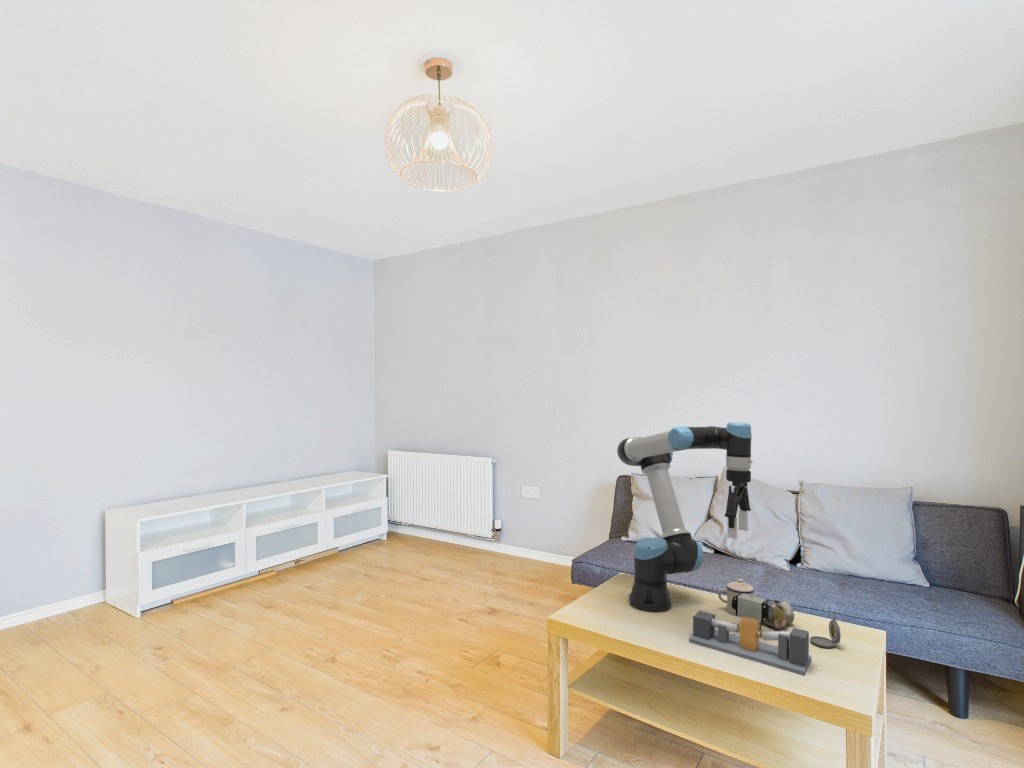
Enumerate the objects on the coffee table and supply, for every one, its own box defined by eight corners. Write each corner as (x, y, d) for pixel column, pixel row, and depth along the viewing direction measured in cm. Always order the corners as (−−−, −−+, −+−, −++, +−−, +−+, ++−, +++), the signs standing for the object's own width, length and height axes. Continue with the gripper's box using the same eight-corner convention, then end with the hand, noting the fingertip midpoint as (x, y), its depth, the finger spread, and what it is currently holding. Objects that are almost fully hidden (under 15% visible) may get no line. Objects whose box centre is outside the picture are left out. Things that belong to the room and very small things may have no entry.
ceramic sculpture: (803, 600, 181) (777, 611, 173) (804, 626, 181) (778, 638, 173) (773, 591, 190) (747, 601, 182) (774, 615, 190) (748, 626, 182)
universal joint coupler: (761, 647, 162) (761, 620, 163) (758, 652, 159) (758, 625, 159) (741, 642, 166) (741, 615, 166) (737, 647, 162) (737, 620, 163)
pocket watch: (805, 641, 170) (805, 609, 170) (823, 637, 173) (823, 605, 173) (829, 652, 162) (829, 619, 162) (848, 648, 165) (848, 615, 166)
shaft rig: (688, 641, 167) (689, 612, 168) (701, 629, 177) (701, 601, 177) (804, 675, 148) (804, 642, 148) (811, 659, 158) (811, 628, 158)
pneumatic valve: (767, 639, 170) (768, 601, 171) (731, 627, 179) (731, 591, 179) (774, 634, 174) (774, 597, 175) (737, 623, 182) (738, 587, 183)
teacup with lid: (754, 610, 194) (755, 578, 194) (752, 619, 186) (753, 585, 186) (719, 603, 200) (720, 572, 200) (716, 612, 192) (716, 579, 192)
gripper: (740, 474, 165) (739, 543, 165) (759, 467, 185) (758, 529, 184) (715, 471, 170) (714, 539, 169) (736, 465, 190) (736, 525, 189)
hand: (737, 534), depth 177 cm, fingers open, 13 cm apart
